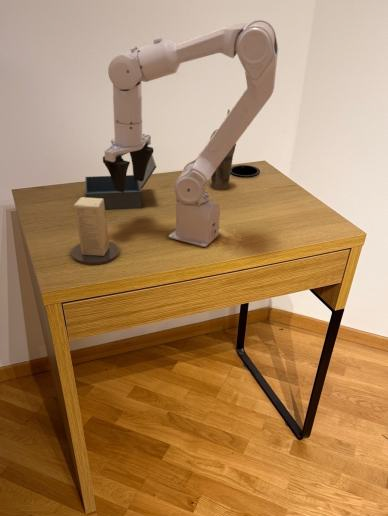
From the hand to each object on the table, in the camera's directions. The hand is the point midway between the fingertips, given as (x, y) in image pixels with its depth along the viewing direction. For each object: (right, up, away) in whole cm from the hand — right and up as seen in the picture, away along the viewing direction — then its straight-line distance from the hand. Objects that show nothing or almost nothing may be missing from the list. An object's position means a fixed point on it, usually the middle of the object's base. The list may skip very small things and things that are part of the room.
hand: (129, 185), depth 109 cm
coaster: (-7, -16, -3) cm, 17 cm away
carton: (-7, +2, +19) cm, 21 cm away
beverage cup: (+22, +9, +29) cm, 37 cm away
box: (-7, -15, -4) cm, 17 cm away
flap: (+2, +9, +16) cm, 18 cm away
